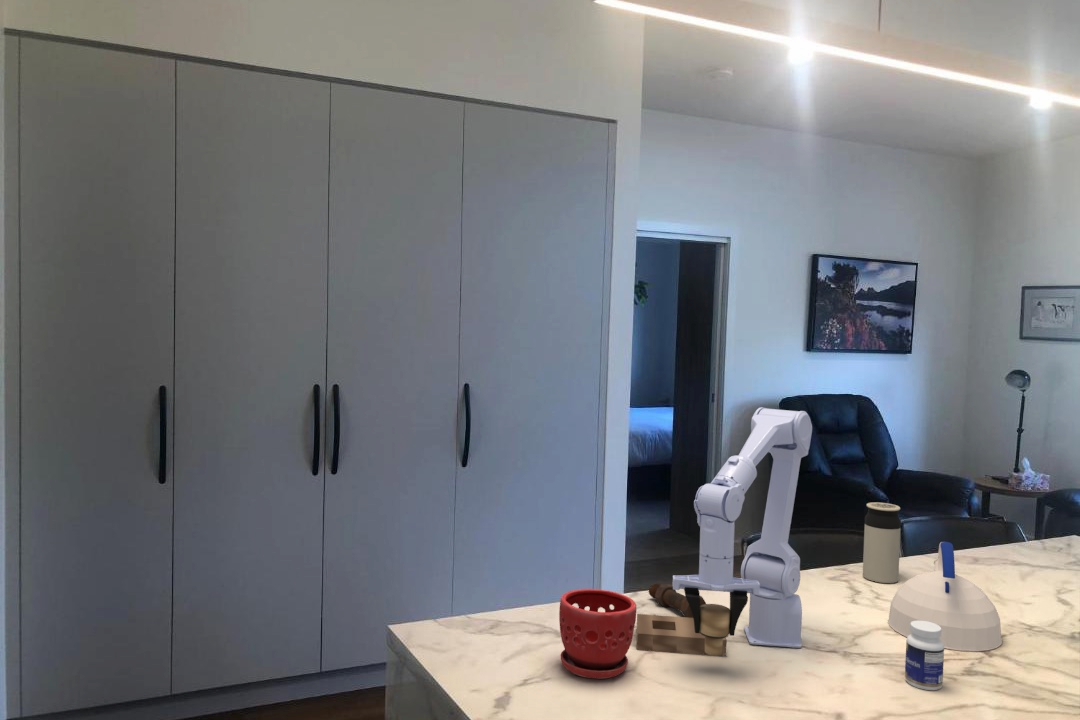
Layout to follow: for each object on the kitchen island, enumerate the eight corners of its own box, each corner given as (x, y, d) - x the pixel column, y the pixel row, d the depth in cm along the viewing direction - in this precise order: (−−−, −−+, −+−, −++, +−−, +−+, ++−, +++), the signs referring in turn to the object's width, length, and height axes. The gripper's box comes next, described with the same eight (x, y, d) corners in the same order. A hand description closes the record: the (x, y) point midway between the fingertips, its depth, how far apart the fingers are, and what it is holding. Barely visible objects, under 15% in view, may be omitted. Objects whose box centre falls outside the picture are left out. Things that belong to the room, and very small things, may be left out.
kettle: (995, 623, 158) (999, 537, 158) (1009, 661, 139) (1013, 562, 139) (888, 607, 167) (891, 524, 166) (887, 640, 148) (890, 547, 147)
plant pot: (613, 692, 123) (615, 618, 122) (543, 671, 130) (545, 601, 129) (646, 664, 134) (648, 596, 133) (580, 646, 141) (582, 581, 140)
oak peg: (726, 646, 134) (728, 604, 134) (730, 659, 129) (732, 615, 129) (696, 644, 135) (698, 602, 135) (699, 657, 130) (700, 613, 130)
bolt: (656, 606, 168) (699, 628, 155) (640, 597, 166) (682, 619, 153) (667, 582, 169) (711, 601, 156) (651, 573, 167) (694, 592, 154)
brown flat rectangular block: (720, 635, 148) (720, 619, 148) (726, 656, 138) (726, 639, 138) (636, 629, 150) (637, 613, 150) (636, 649, 140) (637, 633, 140)
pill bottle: (897, 676, 131) (900, 619, 131) (929, 675, 132) (931, 618, 132) (917, 691, 126) (919, 632, 125) (950, 691, 126) (952, 631, 126)
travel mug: (904, 584, 182) (907, 509, 181) (870, 583, 182) (873, 508, 182) (889, 574, 190) (892, 502, 189) (857, 573, 190) (860, 501, 190)
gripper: (675, 558, 128) (672, 638, 129) (763, 563, 127) (760, 644, 127) (672, 547, 135) (670, 622, 136) (756, 551, 134) (754, 628, 134)
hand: (714, 632), depth 132 cm, fingers closed on oak peg, 5 cm apart
